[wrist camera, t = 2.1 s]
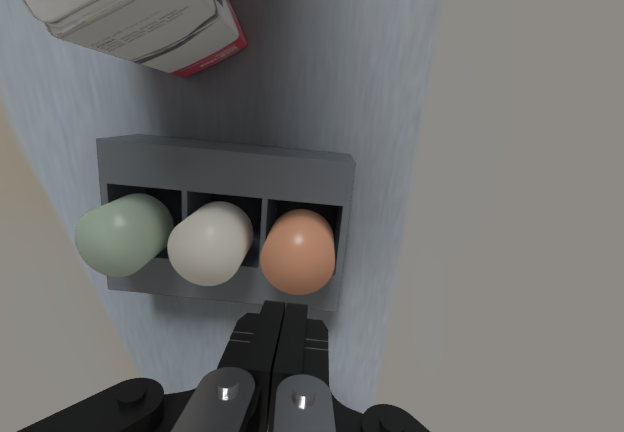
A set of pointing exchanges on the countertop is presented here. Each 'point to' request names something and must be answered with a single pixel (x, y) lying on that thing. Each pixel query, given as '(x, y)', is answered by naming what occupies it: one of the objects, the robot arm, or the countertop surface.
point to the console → (227, 181)
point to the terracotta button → (299, 252)
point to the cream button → (210, 243)
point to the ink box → (147, 30)
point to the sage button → (123, 234)
